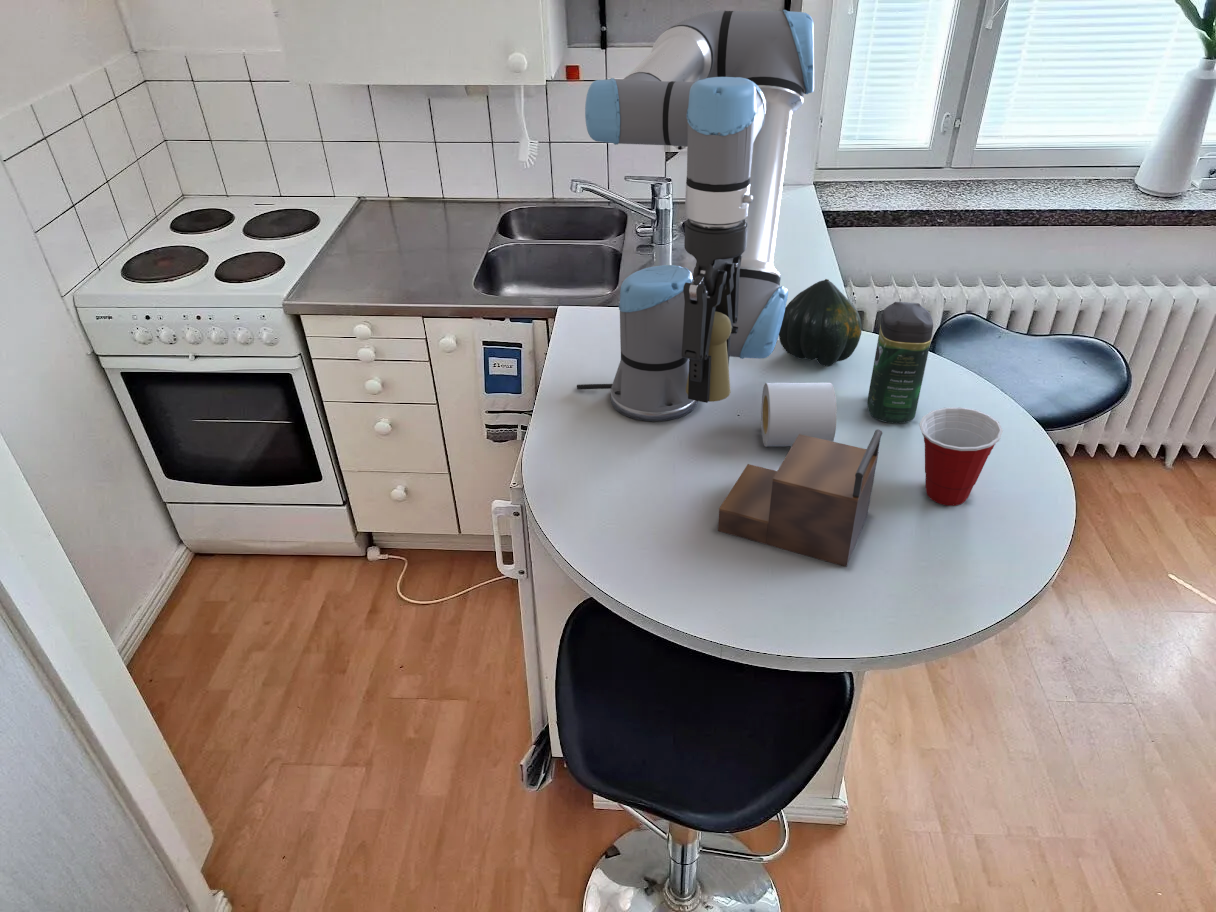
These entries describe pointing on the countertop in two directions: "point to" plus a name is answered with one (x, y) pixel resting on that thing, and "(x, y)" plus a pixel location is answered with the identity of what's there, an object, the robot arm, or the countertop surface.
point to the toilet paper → (797, 412)
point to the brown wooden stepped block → (806, 499)
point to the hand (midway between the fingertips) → (708, 388)
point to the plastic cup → (956, 451)
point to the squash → (820, 325)
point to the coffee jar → (899, 362)
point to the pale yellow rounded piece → (719, 359)
